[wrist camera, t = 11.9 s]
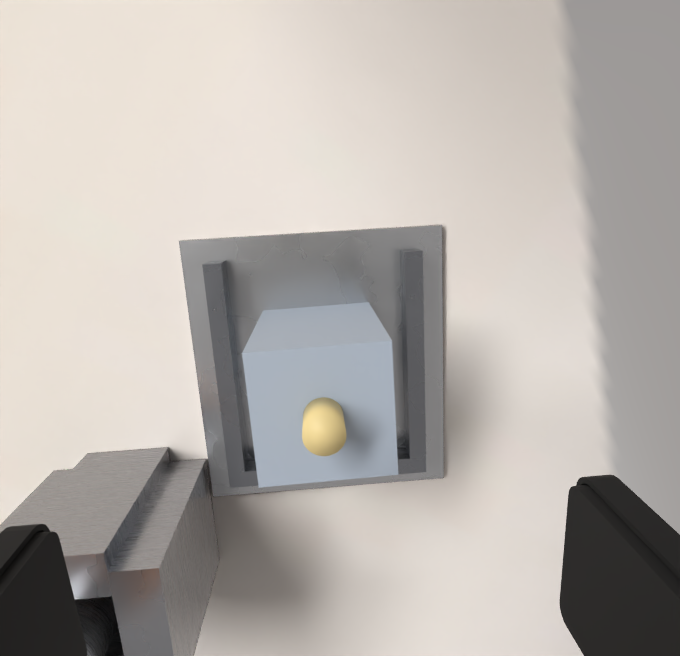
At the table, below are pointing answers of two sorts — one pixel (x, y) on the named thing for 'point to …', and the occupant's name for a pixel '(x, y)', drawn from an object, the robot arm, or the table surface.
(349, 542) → the table surface
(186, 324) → the table surface
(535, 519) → the table surface
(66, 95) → the table surface
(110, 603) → the plunger
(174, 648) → the copper disc holder
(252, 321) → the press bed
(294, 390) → the light blue block
